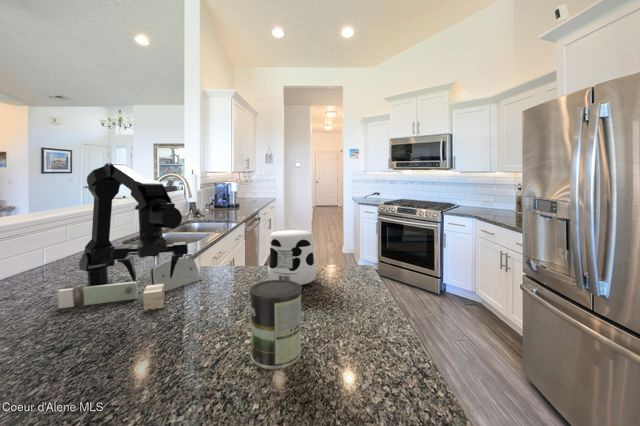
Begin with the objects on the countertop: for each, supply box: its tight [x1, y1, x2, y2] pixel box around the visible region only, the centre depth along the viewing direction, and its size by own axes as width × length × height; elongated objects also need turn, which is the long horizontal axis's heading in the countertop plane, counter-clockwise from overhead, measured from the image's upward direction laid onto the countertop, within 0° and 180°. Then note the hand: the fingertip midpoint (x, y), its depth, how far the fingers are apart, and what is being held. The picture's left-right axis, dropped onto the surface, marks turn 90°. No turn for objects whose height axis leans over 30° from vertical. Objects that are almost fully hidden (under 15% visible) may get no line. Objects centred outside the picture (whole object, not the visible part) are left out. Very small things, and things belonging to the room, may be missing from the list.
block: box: [142, 284, 165, 311], centre depth 85 cm, size 7×4×5 cm, turn 23°
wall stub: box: [57, 287, 76, 310], centre depth 84 cm, size 2×3×5 cm, turn 114°
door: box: [82, 280, 138, 306], centre depth 87 cm, size 3×13×5 cm, turn 114°
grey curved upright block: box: [149, 257, 203, 292], centre depth 103 cm, size 17×5×10 cm, turn 148°
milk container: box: [267, 229, 317, 287], centre depth 104 cm, size 17×17×18 cm
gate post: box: [73, 285, 84, 307], centre depth 85 cm, size 2×2×6 cm
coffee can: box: [249, 279, 303, 370], centre depth 59 cm, size 10×10×14 cm
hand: (153, 279), depth 85 cm, fingers open, 9 cm apart
